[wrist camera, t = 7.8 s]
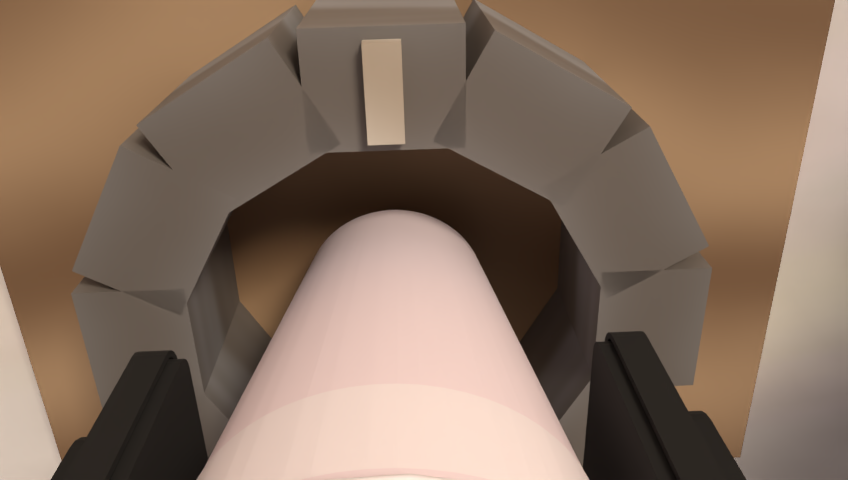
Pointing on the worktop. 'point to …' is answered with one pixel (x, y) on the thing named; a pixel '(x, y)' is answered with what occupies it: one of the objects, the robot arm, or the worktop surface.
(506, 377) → the smoothie
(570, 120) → the block
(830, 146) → the worktop surface
